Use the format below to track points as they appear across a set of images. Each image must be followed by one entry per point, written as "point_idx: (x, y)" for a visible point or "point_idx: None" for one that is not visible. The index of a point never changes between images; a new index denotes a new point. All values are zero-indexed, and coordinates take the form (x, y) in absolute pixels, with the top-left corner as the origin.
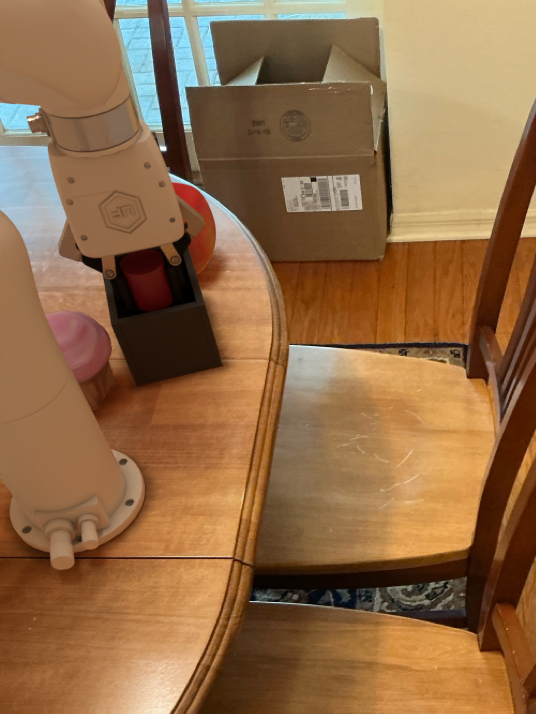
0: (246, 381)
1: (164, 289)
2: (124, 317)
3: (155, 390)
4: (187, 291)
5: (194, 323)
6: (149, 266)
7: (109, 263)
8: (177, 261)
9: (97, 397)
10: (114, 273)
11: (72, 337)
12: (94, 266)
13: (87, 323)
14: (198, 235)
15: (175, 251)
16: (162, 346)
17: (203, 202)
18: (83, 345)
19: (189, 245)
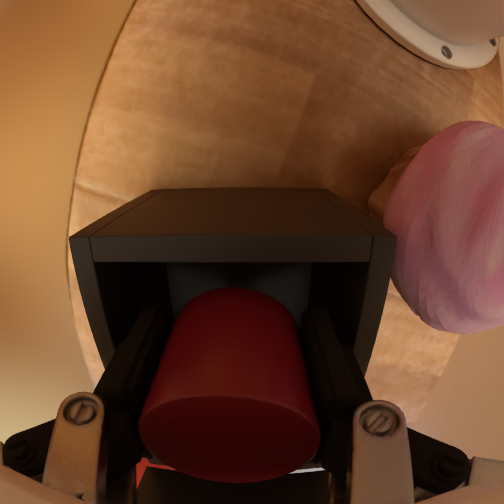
0: (115, 133)
1: (178, 335)
2: None
3: (293, 163)
4: None
5: (136, 218)
6: (195, 426)
7: (379, 463)
8: (81, 404)
9: (408, 154)
10: (358, 421)
11: None
12: (427, 447)
13: (458, 256)
14: (142, 458)
15: (54, 435)
16: (252, 204)
17: None
18: (479, 169)
19: None
